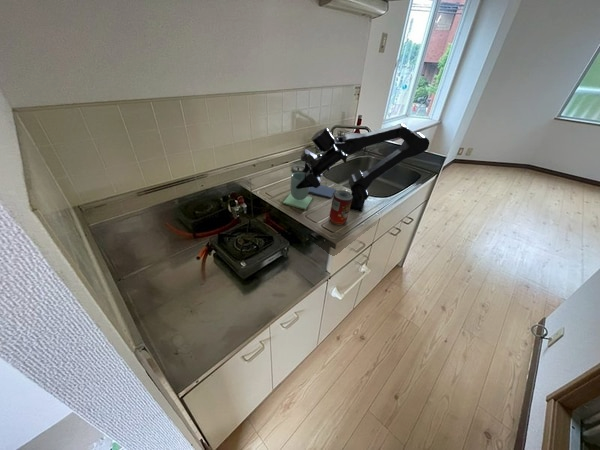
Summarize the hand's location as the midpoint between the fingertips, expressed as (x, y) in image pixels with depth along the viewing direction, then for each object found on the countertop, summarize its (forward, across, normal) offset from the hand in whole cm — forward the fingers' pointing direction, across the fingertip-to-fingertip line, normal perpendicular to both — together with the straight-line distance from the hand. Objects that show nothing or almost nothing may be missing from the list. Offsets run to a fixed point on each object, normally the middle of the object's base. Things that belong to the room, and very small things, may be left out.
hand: (296, 183), depth 98 cm
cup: (+4, 0, +6) cm, 7 cm away
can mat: (-2, -11, +15) cm, 19 cm away
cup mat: (+5, 0, +7) cm, 9 cm away
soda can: (-6, +12, +19) cm, 23 cm away
